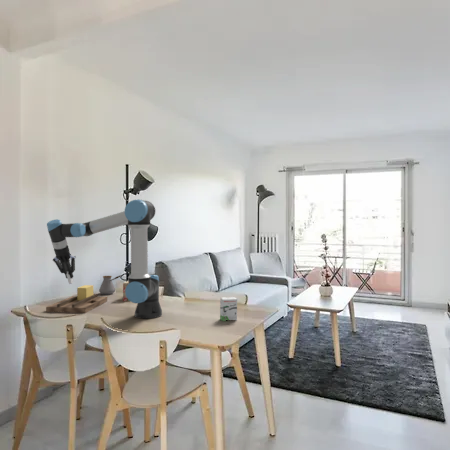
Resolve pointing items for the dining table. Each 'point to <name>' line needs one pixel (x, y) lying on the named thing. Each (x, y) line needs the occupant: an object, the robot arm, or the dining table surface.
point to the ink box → (228, 308)
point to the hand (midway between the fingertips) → (71, 282)
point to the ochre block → (84, 292)
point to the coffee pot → (107, 285)
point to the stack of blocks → (124, 291)
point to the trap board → (77, 304)
